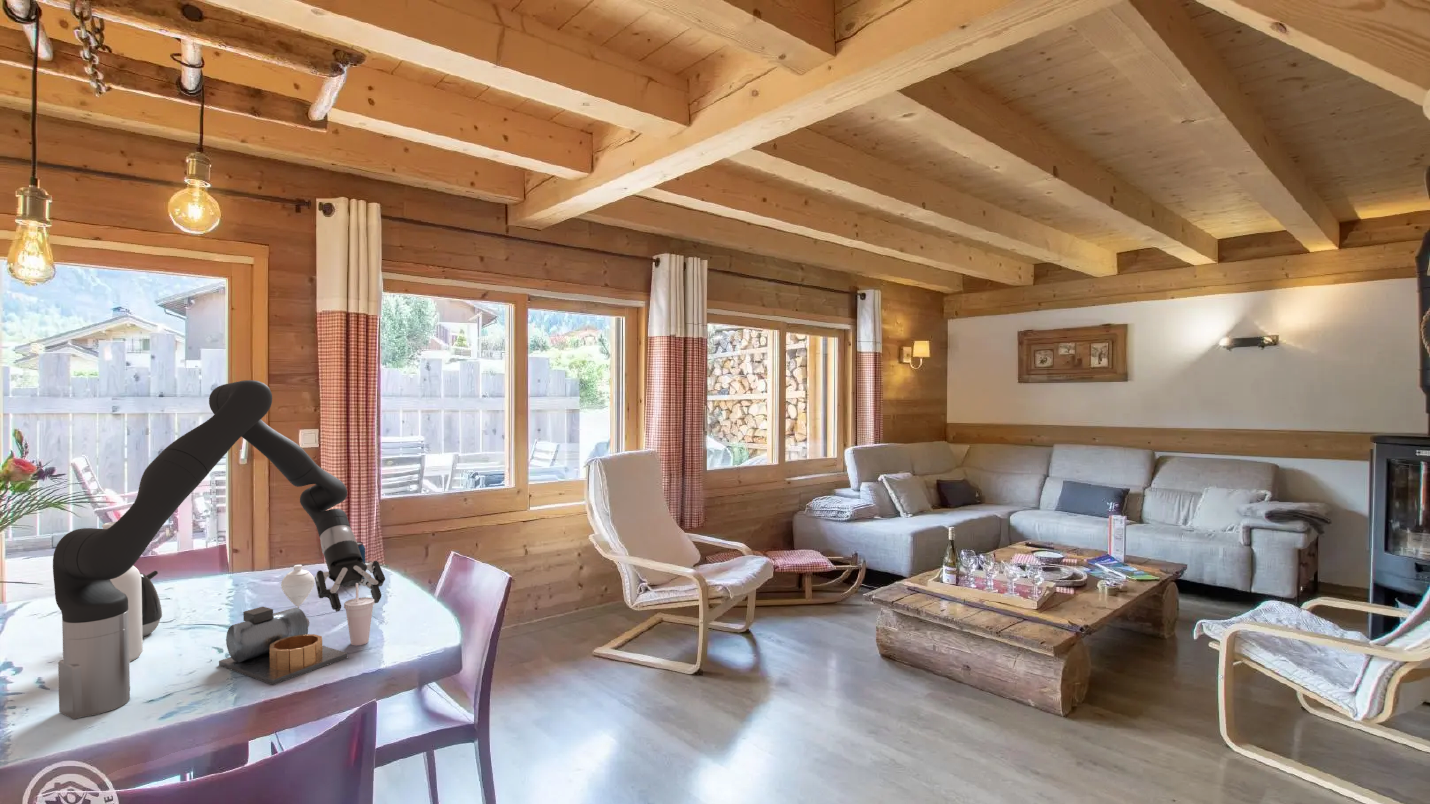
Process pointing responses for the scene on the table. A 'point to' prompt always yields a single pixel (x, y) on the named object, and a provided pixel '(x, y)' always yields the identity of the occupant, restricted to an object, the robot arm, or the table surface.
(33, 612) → the table surface
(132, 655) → the alcohol
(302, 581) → the spinning top
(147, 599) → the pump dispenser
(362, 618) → the smoothie
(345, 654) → the motor
